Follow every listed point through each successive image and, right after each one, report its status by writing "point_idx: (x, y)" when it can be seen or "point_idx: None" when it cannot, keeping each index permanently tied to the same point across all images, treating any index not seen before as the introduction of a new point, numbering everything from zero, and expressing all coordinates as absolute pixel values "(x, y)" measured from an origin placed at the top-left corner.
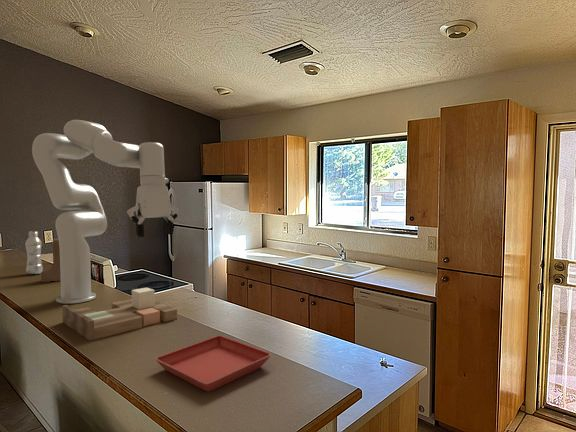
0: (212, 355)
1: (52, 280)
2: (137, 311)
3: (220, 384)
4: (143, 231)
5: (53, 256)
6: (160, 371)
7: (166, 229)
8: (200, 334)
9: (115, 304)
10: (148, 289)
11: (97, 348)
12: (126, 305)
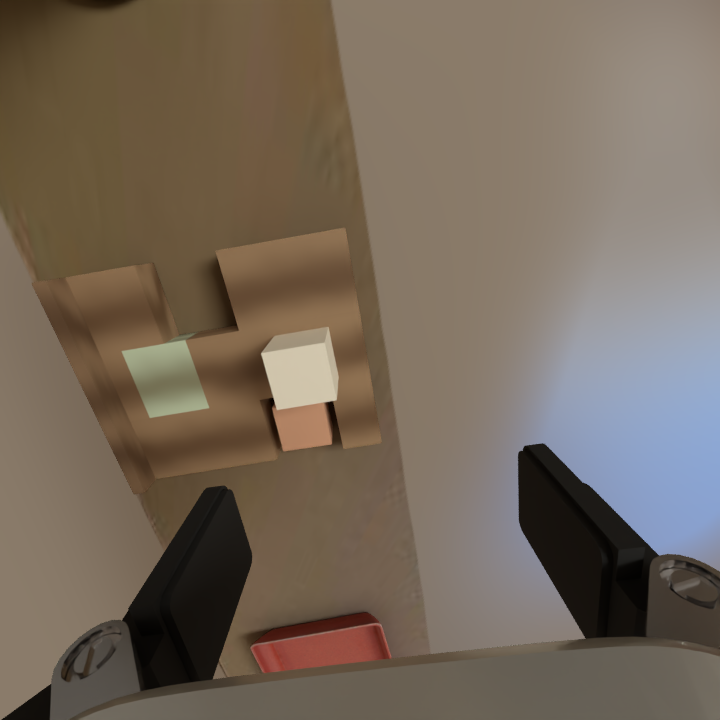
0: (346, 632)
1: None
2: (274, 415)
3: None
4: (231, 611)
5: None
6: (261, 629)
7: (543, 492)
8: (378, 541)
9: (226, 283)
10: (320, 379)
11: (175, 509)
12: (259, 318)
